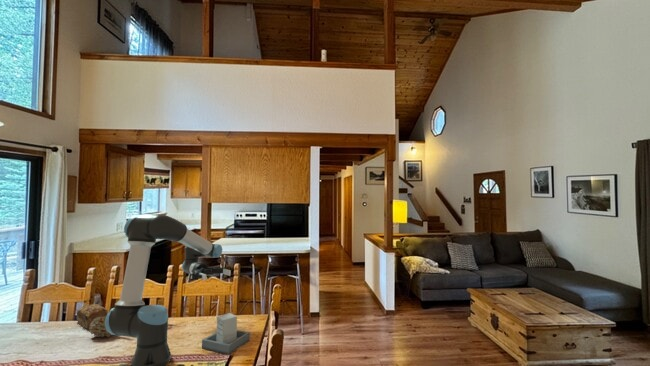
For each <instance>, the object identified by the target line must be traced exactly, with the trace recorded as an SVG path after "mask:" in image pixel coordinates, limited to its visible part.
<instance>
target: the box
mask: <svg viewBox="0 0 650 366" xmlns="http://www.w3.org/2000/svg"><path fill="white" fill-rule="evenodd" d="M216 337H217V331H216V332H214V333H212V334H211V335H208V336H207V337H204V338H203V339H202V340H201V349H203V350H205V351H206V350H207V351H210V352H214V353H219V354H224V355H228V354H229V355H230V354H232V353H233V352H236V350H238V349H240V348H241V347H243V346H244V345H246V344H247V343H249V342H250V341H251V332H249V331H245V330H241V329H240V330H238V329H237V339H236V340H235V341H233V342H231V343H230V344H225V343H221V342H216Z"/></svg>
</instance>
